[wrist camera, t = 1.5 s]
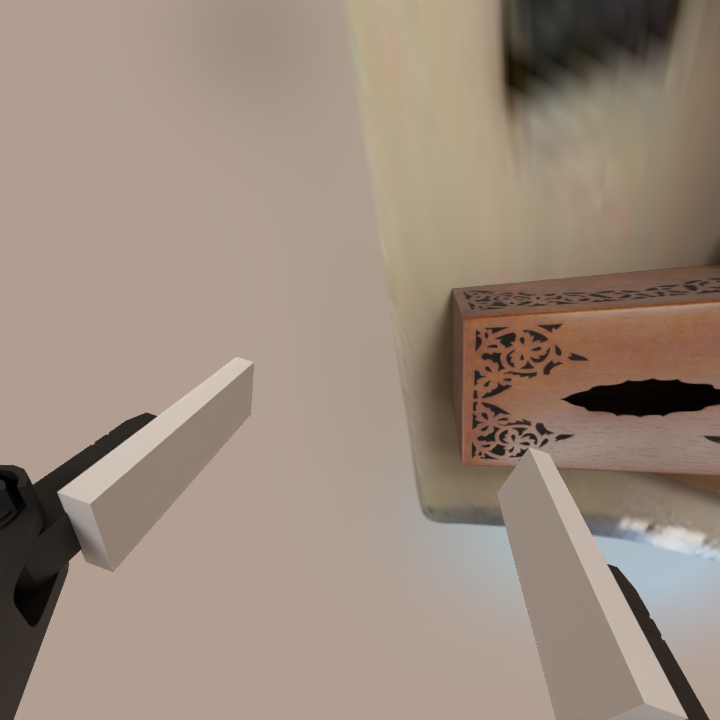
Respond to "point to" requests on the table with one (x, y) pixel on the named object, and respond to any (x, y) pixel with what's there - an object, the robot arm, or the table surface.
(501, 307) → the tissue box cover
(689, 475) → the walnut fence
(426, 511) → the table surface
